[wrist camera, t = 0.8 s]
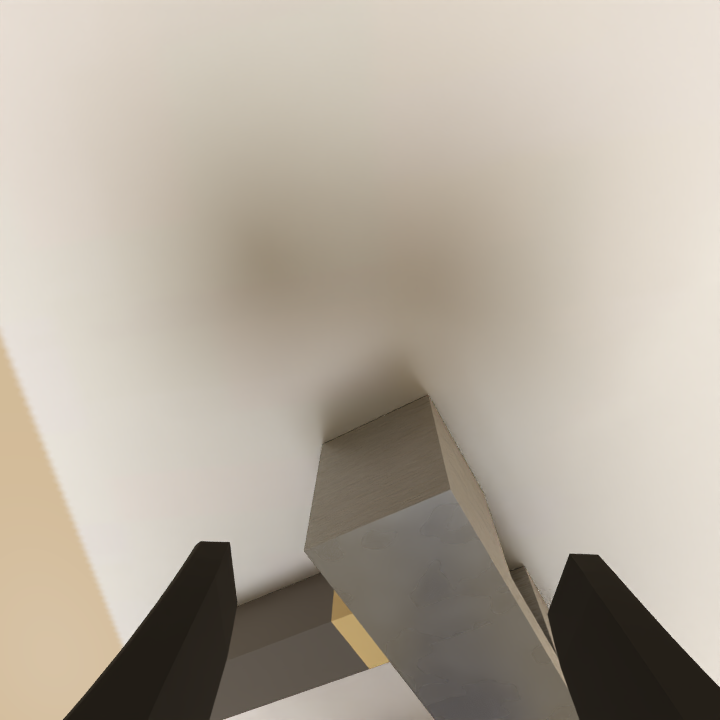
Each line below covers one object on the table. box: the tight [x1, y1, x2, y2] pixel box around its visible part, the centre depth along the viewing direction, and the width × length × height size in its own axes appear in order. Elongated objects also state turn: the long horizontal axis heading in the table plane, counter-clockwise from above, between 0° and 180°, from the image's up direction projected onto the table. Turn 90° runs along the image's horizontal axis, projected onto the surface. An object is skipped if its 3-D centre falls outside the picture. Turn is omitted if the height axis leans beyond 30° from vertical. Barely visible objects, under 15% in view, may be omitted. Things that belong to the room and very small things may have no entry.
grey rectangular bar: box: [210, 573, 390, 720], centre depth 23 cm, size 11×3×3 cm, turn 119°
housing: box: [304, 395, 579, 720], centre depth 20 cm, size 5×16×6 cm, turn 29°
